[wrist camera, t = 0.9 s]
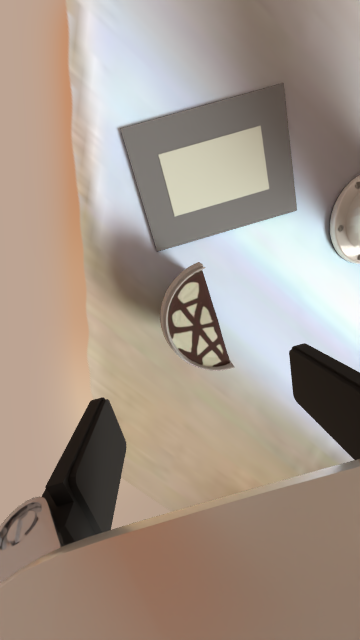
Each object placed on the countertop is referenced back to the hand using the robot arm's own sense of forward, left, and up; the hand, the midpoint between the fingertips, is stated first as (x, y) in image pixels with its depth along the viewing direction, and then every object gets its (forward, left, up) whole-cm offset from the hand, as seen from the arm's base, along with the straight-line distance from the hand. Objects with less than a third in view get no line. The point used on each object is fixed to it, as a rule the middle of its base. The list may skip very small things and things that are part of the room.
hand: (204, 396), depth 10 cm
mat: (-10, -16, -21) cm, 28 cm away
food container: (-1, 0, -21) cm, 21 cm away
